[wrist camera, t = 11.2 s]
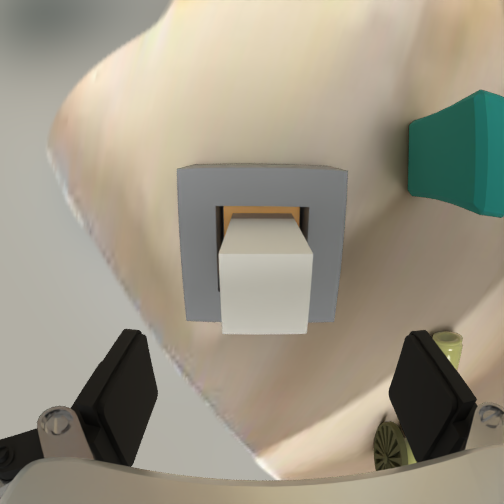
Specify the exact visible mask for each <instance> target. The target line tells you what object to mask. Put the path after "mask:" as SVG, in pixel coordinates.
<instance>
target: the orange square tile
mask: <svg viewBox="0 0 504 504" xmlns="http://www.w3.org/2000/svg"><path fill="white" fill-rule="evenodd" d="M233 213H291V214H292V215H293V217H294V219H295V221H296V223H297V225H298V226H299V217H300V207H283V206H224V237H225V234H226V231H227V229H228V226H229V223H230V220H231V217H232V215H233Z"/></svg>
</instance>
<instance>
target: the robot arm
mask: <svg viewBox="0 0 504 504" xmlns="http://www.w3.org/2000/svg"><path fill="white" fill-rule="evenodd" d="M157 396H158V390H157V385H156V381H155V376H154V373H153V367H152V363H151V358H150V353H149V349H148V343H147V338H146V336H145V335H143V334H142V333H141V331H139V330H132V329H124V330H123V331H122V333H121V335H120V336H119V337H118V339H117V340H116V342H115V343H114V345H113V346H112V348H111V349H110V351H109V352H108V354H107V355H106V357H105V358H104V360H103V361H102V362H101V363H100V364H99V365H98V367H97V368H96V369H95V371H94V373H93V374H92V376H91V377H90V379H89V380H88V382H87V383H86V385H85V386H84V388H83V389H82V391H81V393H80V394H79V396H78V397H77V399H76V401H75V402H74V404H73V406H72V407H71V408H68V407H65V406H55V407H51V408H49V409H47V410H45V411H44V412H43V413H42V414H41V415H40V416H39V418H38V421H37V429H33V430H30V431H27V432H24V433H21V434H18V435H14V436H11V437H8V438H5V439H1V440H0V504H504V408H503V407H502V406H500V405H498V404H496V403H492V402H484V403H482V404H480V405H479V406H477V404H476V403H475V402H476V400H477V399H476V397H475V396H474V394H473V393H472V391H471V390H470V388H469V387H468V386H467V384H466V383H465V381H464V380H463V379H462V377H461V376H460V374H459V373H458V372H457V370H456V369H455V368H454V366H453V365H452V363H451V362H450V361H449V359H448V358H447V357H446V355H445V354H444V353H443V351H442V350H441V349H440V347H439V346H438V345H437V344H436V342H435V341H434V340H433V338H432V337H431V336H430V335H429V333H428V332H427V331H426V330H420V331H412V332H411V333H410V334H409V335H408V336H406V338H405V341H404V344H403V348H402V351H401V354H400V358H399V361H398V364H397V367H396V370H395V373H394V377H393V380H392V382H391V385H390V388H389V398H390V401H391V403H392V405H393V407H394V410H395V412H396V414H397V417H398V419H399V422H400V424H401V426H402V429H403V431H404V434H405V436H406V438H407V441H408V443H409V446H410V448H411V451H412V453H413V456H414V458H415V461H416V462H417V463H414V464H410V465H405V466H401V467H396V468H391V469H386V470H380V471H375V472H368V473H362V474H355V475H347V476H339V477H329V478H318V479H304V480H277V481H255V480H252V481H251V480H228V479H213V478H202V477H192V476H184V475H176V474H169V473H162V472H156V471H150V470H144V469H138V468H133V467H131V466H132V465H133V463H134V460H135V457H136V454H137V452H138V449H139V446H140V443H141V440H142V438H143V435H144V432H145V429H146V426H147V424H148V421H149V418H150V416H151V413H152V410H153V408H154V405H155V402H156V400H157ZM128 466H129V467H128Z"/></svg>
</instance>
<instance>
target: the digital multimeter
mask: <svg viewBox="0 0 504 504" xmlns="http://www.w3.org/2000/svg"><path fill="white" fill-rule="evenodd" d="M408 191H409V192H410V194H411V195H412V196H417V197H426V198H432V199H437V200H441V201H444V202H448V203H451V204H454V205H457V206H459V207H462V208H464V209H467V210H469V211H472V212H474V213H477V214H479V215H486V216H493V217H499V218H501V217H503V216H504V97H502V96H500V95H497V94H494V93H490V92H487V91H484V90H479V91H477V92H475V93H473V94H471V95H470V96H468V97H466V98H464V99H462V100H461V101H459V102H457V103H455V104H453V105H452V106H450V107H447V108H445V109H443V110H441V111H439V112H437V113H434V114H432V115H429V116H426V117H424V118H420V119H417V120H414V121H413V122H412V123H411V124H410V125H409V161H408Z"/></svg>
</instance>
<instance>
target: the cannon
mask: <svg viewBox="0 0 504 504" xmlns="http://www.w3.org/2000/svg"><path fill="white" fill-rule="evenodd" d="M433 340H434V341H435V342H436V344H437V345H438V346H439V347H440V349H441V350H442V351H443V353H444V354H445V355H446V357H447V358H448V359H449V361H450V362H451V363H452V365H453V366H454V368H455V369H456V370H457V369H458V365H459V360H460V356H461V351H462V346H463V344H462V340H463V338H462V336H461V335H459V334H458V333H455V332H450V331H441V332H437V333H435V334H434V335H433ZM374 461H375V468H376V471H380V470H386V469H391V468H396V467H401V466H405V465H410V464H414V463H417V462H416V461H415V458H414V456H413V453H412V451H411V448H410V446H409V443H408V441H407V438H406V437H405V438H404V437H403V434H402V432H401V430H400V429H399V427H398V426H397V425H396V424H395V423H394V422H391V421H390V422H384V423H382V424H380V425H379V427H378V429H377V432H376V435H375V441H374Z"/></svg>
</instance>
